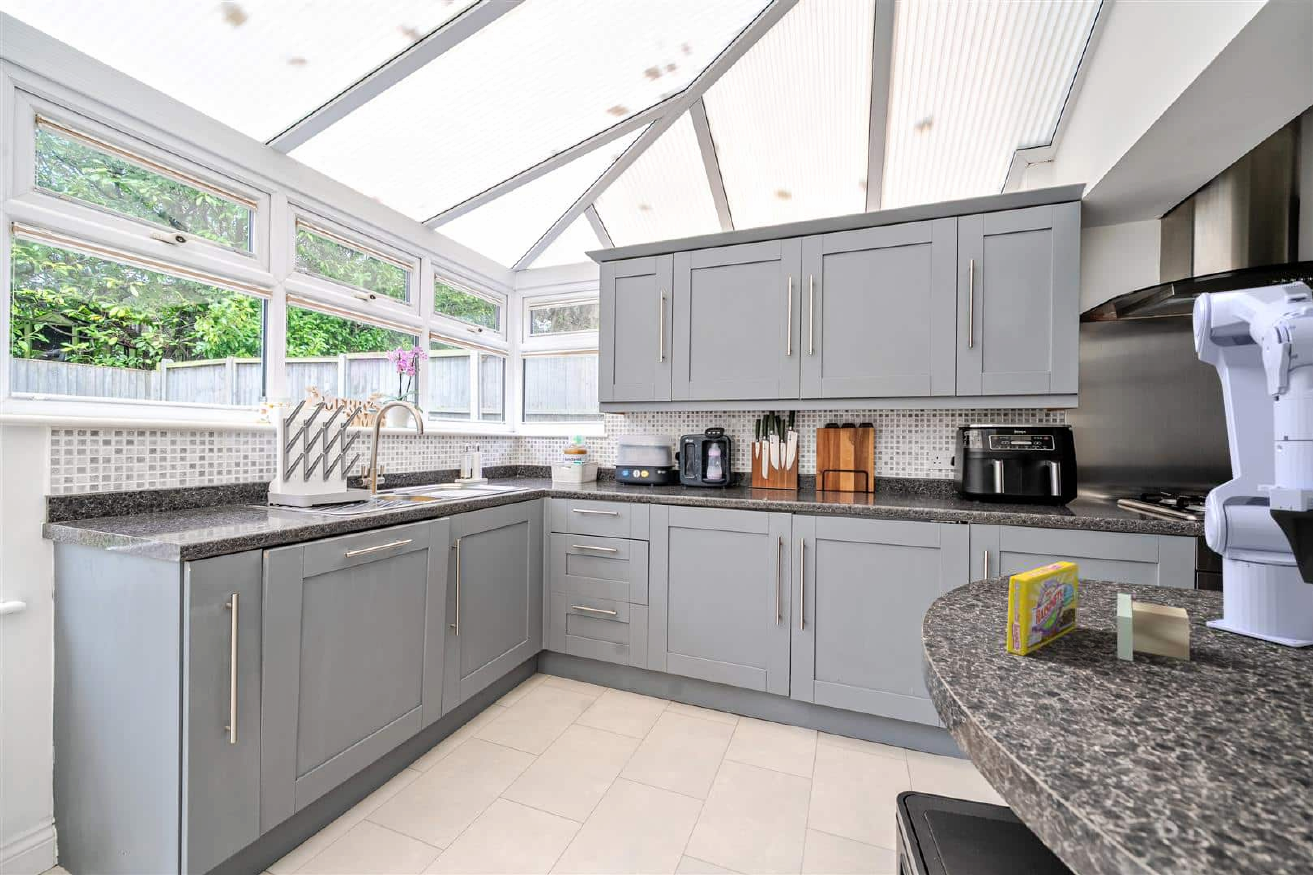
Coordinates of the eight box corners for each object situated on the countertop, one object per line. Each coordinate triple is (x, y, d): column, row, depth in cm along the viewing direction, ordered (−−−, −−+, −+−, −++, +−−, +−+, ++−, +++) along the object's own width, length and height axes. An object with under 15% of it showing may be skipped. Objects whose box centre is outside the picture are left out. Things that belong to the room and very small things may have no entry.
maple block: (1185, 649, 60) (1185, 608, 60) (1189, 661, 56) (1188, 618, 56) (1131, 639, 63) (1131, 601, 63) (1132, 650, 59) (1131, 609, 59)
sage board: (1131, 632, 65) (1130, 594, 65) (1132, 661, 56) (1132, 617, 56) (1118, 630, 66) (1117, 593, 66) (1117, 658, 57) (1117, 615, 57)
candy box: (1027, 658, 57) (1027, 580, 57) (1005, 652, 58) (1004, 576, 58) (1079, 629, 66) (1078, 562, 66) (1058, 624, 68) (1058, 559, 68)
